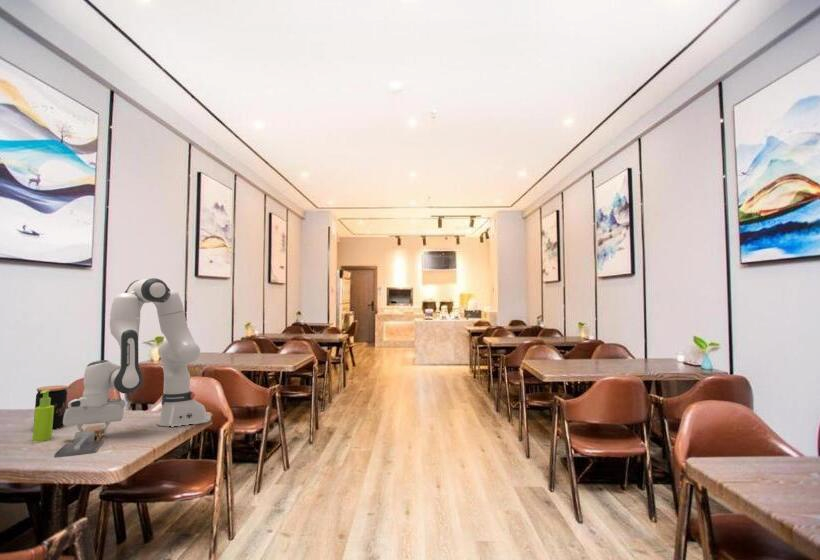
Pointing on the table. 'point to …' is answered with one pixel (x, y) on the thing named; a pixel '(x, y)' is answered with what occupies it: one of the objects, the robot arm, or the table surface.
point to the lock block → (96, 430)
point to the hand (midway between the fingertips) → (93, 434)
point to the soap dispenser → (43, 418)
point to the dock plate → (83, 451)
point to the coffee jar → (55, 402)
